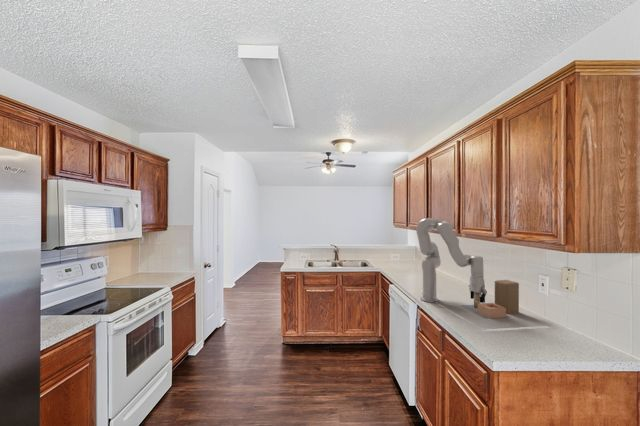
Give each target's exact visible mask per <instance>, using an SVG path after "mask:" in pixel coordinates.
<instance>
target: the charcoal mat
mask: <svg viewBox="0 0 640 426" xmlns="http://www.w3.org/2000/svg"><path fill="white" fill-rule="evenodd" d="M459 306H460V307H462V308H464V309H466V310H467V311H468V312H471V313H473V314H476V315H477V316H479V317H482V318H483V319H485V320H488V319H491V318H488V317H486V316H484V315H482V314H480V313H478V308H474V304H465V305H464V304H463V305H459ZM504 318H505V319H507V318H510V316H509V315H508V314H506V317H501V318H500V319H504Z"/></svg>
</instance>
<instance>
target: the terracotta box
mask: <svg viewBox="0 0 640 426" xmlns="http://www.w3.org/2000/svg"><path fill="white" fill-rule="evenodd" d="M478 313H480V314H482V315H484V316H486V317H488V318H490V319H502V318H501V317H506V315H507V314H506V308H504V307H502V306H500V305H497V304H495V302H485V303H478Z"/></svg>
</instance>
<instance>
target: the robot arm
mask: <svg viewBox="0 0 640 426" xmlns="http://www.w3.org/2000/svg"><path fill="white" fill-rule="evenodd" d="M429 230H430V231H431V230H432V231H436V232H438V233H439V235H440V237H441V238H442V240H443V242H445V244H446V246H447V248H448V251H449V254H450V256H451V258H452V260H453V261H454V263H455V264H456V265H457V266H458V267H461V268H466V267H468V266H470V277H469V285H468V289H469V293H470V299H471V300H474V292H476V293H479V294H480V303H486V295H487V293H488V291H487V289H486V287H485V278H484V257H483V256H480V255H470V254H464V253H463V252H462V250H461V247H460V239H459V238H458V236H457V234H455V232H454V225H453V224H452V223H451V222H449V221H445V220H442V219H439V218H438V219H437V218H432V217H429V218H428V217H427V218H423V219H421V220H420V221H418V222H417V225H416V234H417V239H418V240H417V241H418V245H419V250H420V253H421V255H424V256H426V257H424V258H423V260H422V261H421V270H422V292H421V295H422V296H421V297H420V300H421V301H422V302H425V301H426V302H427V303H437V302H438V301H439V298H438V297H437V270H436V269H438V268H439V267H440V266H441V264H442V263H441V257H440V253H439V248H438V245H437V244H436V242H433V241H432V240H431V236H430V233H429ZM426 302H425V303H426Z"/></svg>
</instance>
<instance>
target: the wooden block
mask: <svg viewBox="0 0 640 426" xmlns="http://www.w3.org/2000/svg"><path fill="white" fill-rule="evenodd" d="M519 289H520V284H519V282H517V281H512V280H509V279H508V280H507V279H500V280H499V279H497V280H494V303H495V304H497V305H500V306H502V307H504V308H506V315H512V314H518V313H519V312H520V311H519V310H520V305H519V304H520V303H519V301H520V290H519Z"/></svg>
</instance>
